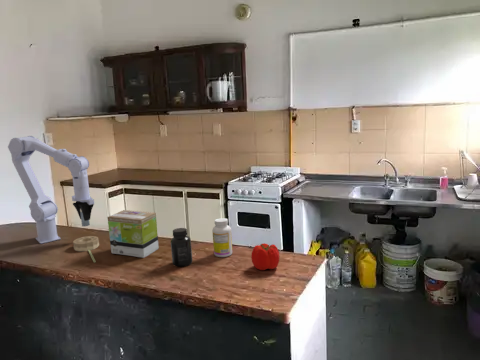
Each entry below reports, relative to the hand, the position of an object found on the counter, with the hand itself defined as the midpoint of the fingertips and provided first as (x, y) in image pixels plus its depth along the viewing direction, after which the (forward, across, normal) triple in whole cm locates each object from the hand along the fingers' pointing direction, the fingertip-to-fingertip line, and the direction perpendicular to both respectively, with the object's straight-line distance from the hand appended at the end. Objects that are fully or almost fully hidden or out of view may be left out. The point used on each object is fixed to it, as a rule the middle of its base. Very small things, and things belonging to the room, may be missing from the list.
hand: (85, 219), depth 167 cm
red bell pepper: (+9, +78, +20) cm, 81 cm away
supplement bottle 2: (+9, +58, +21) cm, 62 cm away
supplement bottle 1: (+9, +52, +7) cm, 53 cm away
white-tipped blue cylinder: (+2, 0, 0) cm, 2 cm away
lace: (+9, +19, -8) cm, 23 cm away
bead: (+9, +7, -4) cm, 13 cm away
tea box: (+9, +28, +4) cm, 30 cm away
